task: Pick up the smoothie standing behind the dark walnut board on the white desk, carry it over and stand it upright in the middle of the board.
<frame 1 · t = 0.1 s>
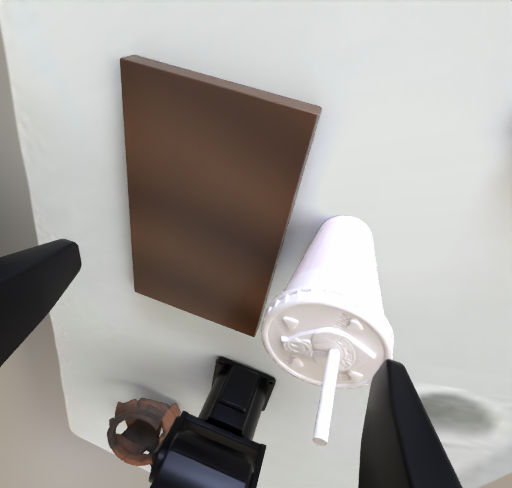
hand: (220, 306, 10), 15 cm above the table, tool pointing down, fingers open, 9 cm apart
smoothie: (344, 237, 24), on the table
board: (209, 217, 27), on the table
brown irregular piece: (161, 409, 49), on the table
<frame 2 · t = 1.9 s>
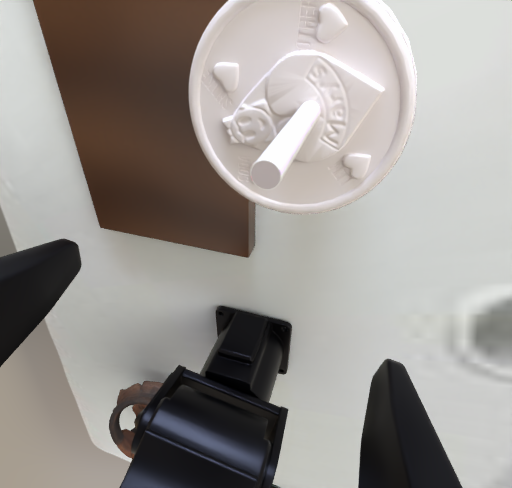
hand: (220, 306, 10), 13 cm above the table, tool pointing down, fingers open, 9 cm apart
smoothie: (335, 62, 17), on the table
board: (159, 90, 21), on the table
brown irregular piece: (174, 397, 42), on the table
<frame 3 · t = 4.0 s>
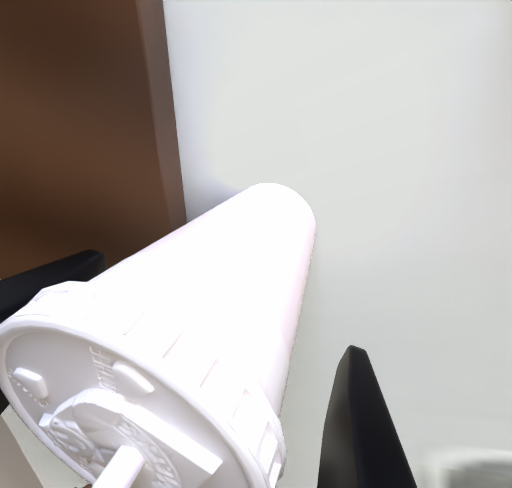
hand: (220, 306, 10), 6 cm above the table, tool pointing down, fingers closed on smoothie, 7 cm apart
smoothie: (273, 223, 15), on the table, touching gripper
board: (84, 225, 18), on the table
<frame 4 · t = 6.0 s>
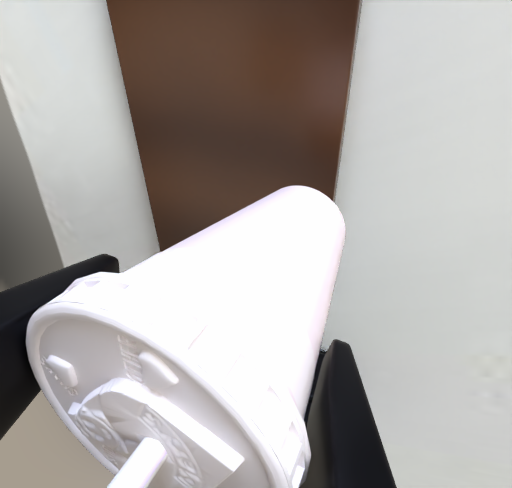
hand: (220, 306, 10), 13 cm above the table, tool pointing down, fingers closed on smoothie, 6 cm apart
smoothie: (302, 226, 15), point 7 cm above the table, touching gripper
board: (238, 143, 21), on the table
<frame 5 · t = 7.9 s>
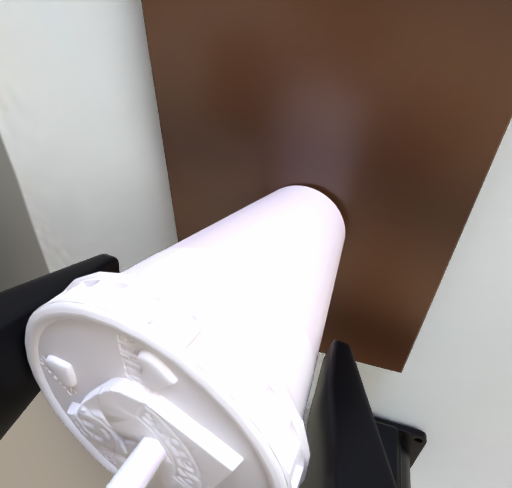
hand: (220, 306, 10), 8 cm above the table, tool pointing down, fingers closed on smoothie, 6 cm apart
smoothie: (301, 226, 15), point 2 cm above the table, touching board, gripper
board: (310, 164, 15), on the table
when the fingers open (8 cm above the table, at t = 8.5 s): smoothie stays where it is, resting on board.
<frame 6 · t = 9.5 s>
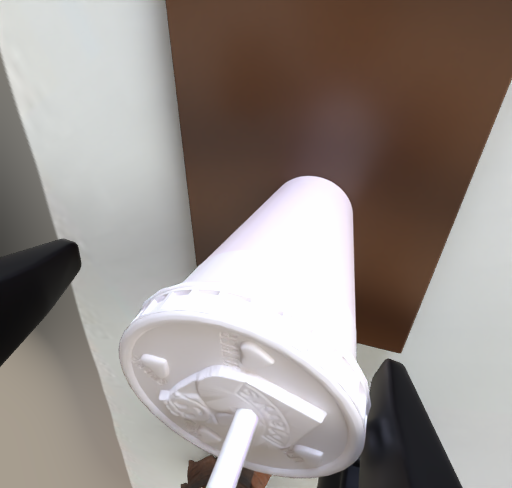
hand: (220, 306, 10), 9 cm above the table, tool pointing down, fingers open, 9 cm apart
smoothie: (311, 211, 16), point 1 cm above the table, touching board
board: (317, 156, 16), on the table
brown irregular piece: (244, 462, 38), on the table
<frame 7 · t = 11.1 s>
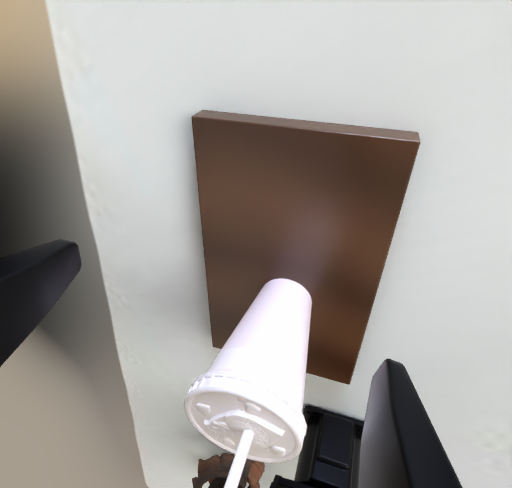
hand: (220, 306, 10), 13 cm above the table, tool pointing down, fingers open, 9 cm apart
smoothie: (286, 296, 25), point 1 cm above the table, touching board
board: (289, 262, 25), on the table
brown irregular piece: (242, 461, 46), on the table
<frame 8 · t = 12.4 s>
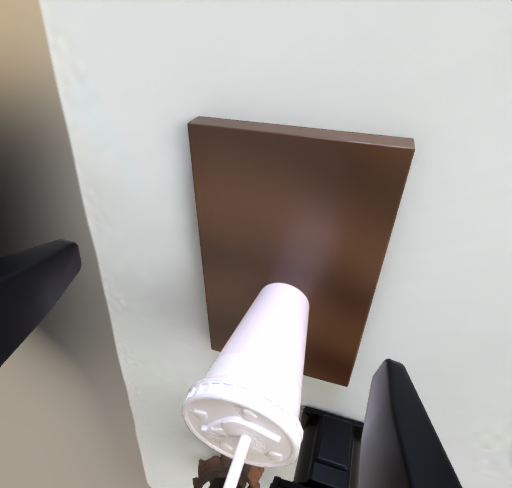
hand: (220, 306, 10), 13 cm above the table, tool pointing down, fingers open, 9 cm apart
smoothie: (284, 300, 25), point 1 cm above the table, touching board
board: (287, 266, 25), on the table
brown irregular piece: (242, 461, 47), on the table
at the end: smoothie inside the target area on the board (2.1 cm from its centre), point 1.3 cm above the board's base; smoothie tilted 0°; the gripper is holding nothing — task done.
